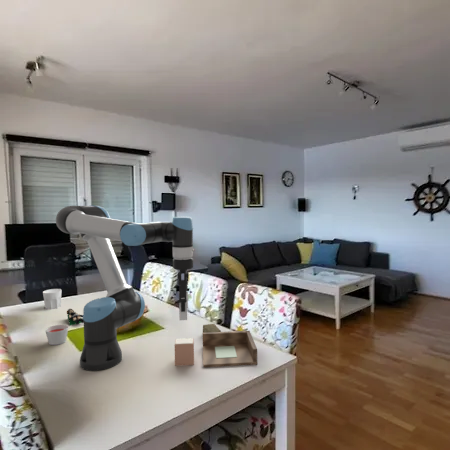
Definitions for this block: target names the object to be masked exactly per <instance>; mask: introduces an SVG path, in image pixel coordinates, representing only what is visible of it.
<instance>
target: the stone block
mask: <svg viewBox="0 0 450 450" xmlns="http://www.w3.org/2000/svg"><path fill="white" fill-rule="evenodd" d="M208 332H222V331H221V330H220V328H218V326H217V325H216V324H215V323H208V324H207V323H206V324H203V325H202V333H208Z"/></svg>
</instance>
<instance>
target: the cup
mask: <svg viewBox="0 0 450 450" xmlns="http://www.w3.org/2000/svg"><path fill="white" fill-rule="evenodd" d="M42 295H43V296H42V297H43V301H44V308H45V309H46V310H55V309H58V308H60V307H62V289H61V288H51V289H46V290H44V291H42Z"/></svg>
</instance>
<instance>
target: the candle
mask: <svg viewBox="0 0 450 450" xmlns="http://www.w3.org/2000/svg"><path fill="white" fill-rule="evenodd" d="M44 331H45V334H46V339H47V342H48V345H51V346H58V345H62V344H64V343H65V342H66V341H67V337H68V331H69V325H68V324H55V325H51V326H49V327H47V328H46V329H45V330H44Z"/></svg>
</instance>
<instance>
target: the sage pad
mask: <svg viewBox="0 0 450 450" xmlns="http://www.w3.org/2000/svg"><path fill="white" fill-rule="evenodd" d="M215 352H216V358H235V357H237V355H236V351H235V347H234V346H222V347H215Z"/></svg>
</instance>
